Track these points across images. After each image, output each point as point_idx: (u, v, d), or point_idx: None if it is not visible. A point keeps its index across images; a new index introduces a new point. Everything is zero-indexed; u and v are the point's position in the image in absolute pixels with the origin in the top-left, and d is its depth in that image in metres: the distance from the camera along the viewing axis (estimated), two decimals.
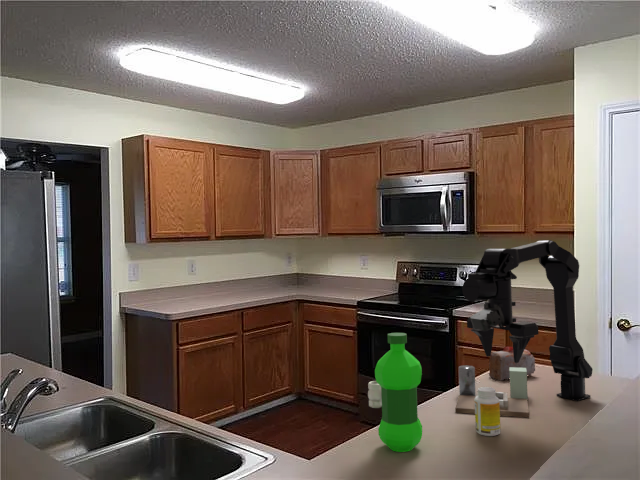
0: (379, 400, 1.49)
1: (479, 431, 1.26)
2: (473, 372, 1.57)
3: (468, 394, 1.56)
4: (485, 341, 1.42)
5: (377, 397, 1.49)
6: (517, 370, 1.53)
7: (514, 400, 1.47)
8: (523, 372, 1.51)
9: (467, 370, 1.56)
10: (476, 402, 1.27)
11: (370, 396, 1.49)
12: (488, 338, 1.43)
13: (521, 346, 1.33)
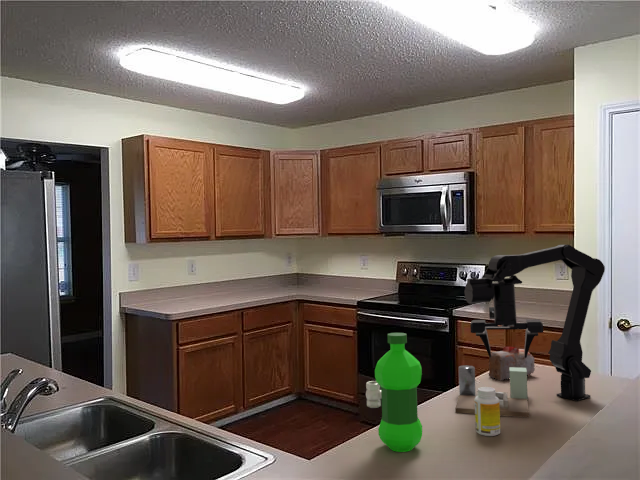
0: (377, 400, 1.49)
1: (479, 431, 1.26)
2: (473, 372, 1.57)
3: (468, 394, 1.56)
4: None
5: (375, 397, 1.49)
6: (517, 370, 1.53)
7: (514, 400, 1.47)
8: (523, 372, 1.51)
9: (467, 370, 1.56)
10: (476, 402, 1.27)
11: (368, 396, 1.50)
12: (525, 341, 1.48)
13: None
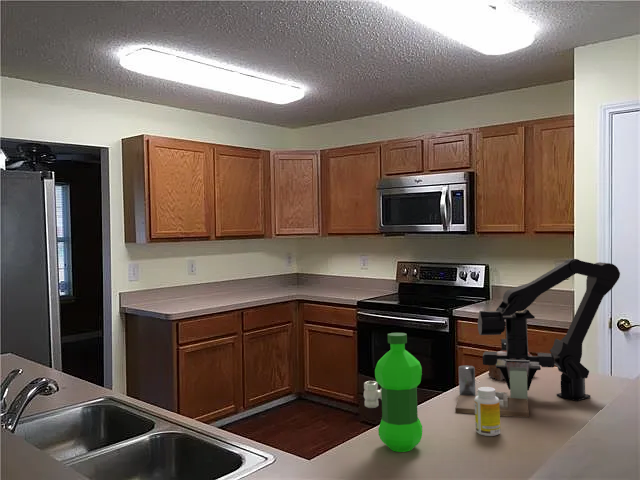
0: (375, 400, 1.50)
1: (479, 431, 1.26)
2: (473, 372, 1.57)
3: (468, 394, 1.56)
4: None
5: (373, 397, 1.49)
6: (517, 370, 1.53)
7: (514, 400, 1.47)
8: (523, 372, 1.51)
9: (467, 370, 1.56)
10: (476, 402, 1.27)
11: (366, 396, 1.50)
12: (528, 374, 1.52)
13: None
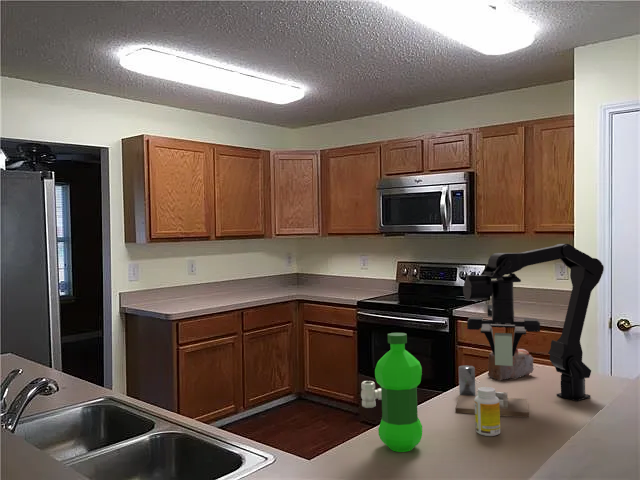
0: (372, 400, 1.50)
1: (479, 431, 1.26)
2: (473, 372, 1.57)
3: (468, 394, 1.56)
4: (513, 340, 1.50)
5: (371, 397, 1.49)
6: (502, 335, 1.49)
7: (514, 400, 1.47)
8: (508, 337, 1.47)
9: (467, 370, 1.56)
10: (476, 402, 1.27)
11: (363, 396, 1.50)
12: (513, 339, 1.49)
13: None
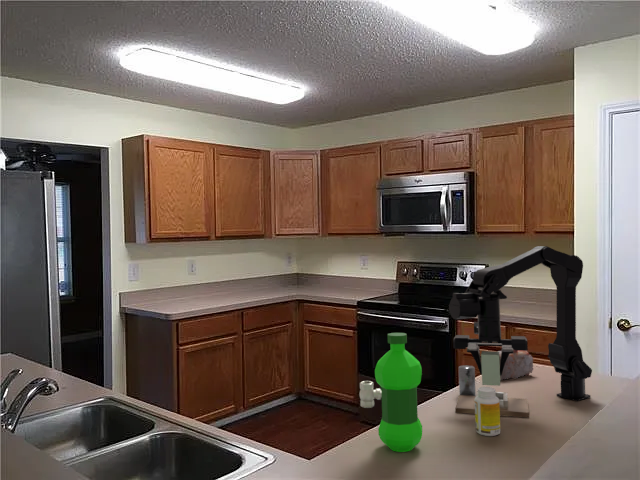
0: (371, 400, 1.50)
1: (479, 431, 1.26)
2: (473, 372, 1.57)
3: (468, 394, 1.56)
4: None
5: (369, 396, 1.49)
6: (489, 354, 1.45)
7: (514, 400, 1.47)
8: (495, 356, 1.43)
9: (467, 370, 1.56)
10: (476, 402, 1.27)
11: (362, 396, 1.50)
12: None
13: None
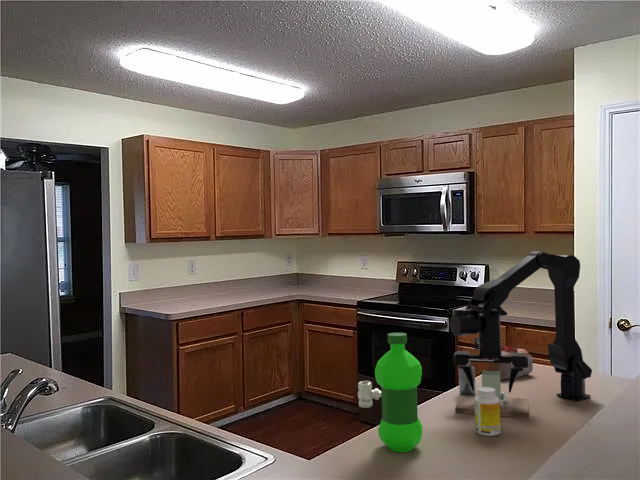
0: (369, 400, 1.50)
1: (479, 431, 1.26)
2: (473, 372, 1.57)
3: (468, 394, 1.56)
4: None
5: (367, 397, 1.49)
6: (490, 374, 1.45)
7: (514, 400, 1.47)
8: (496, 376, 1.43)
9: None
10: (476, 402, 1.27)
11: (360, 396, 1.50)
12: None
13: None
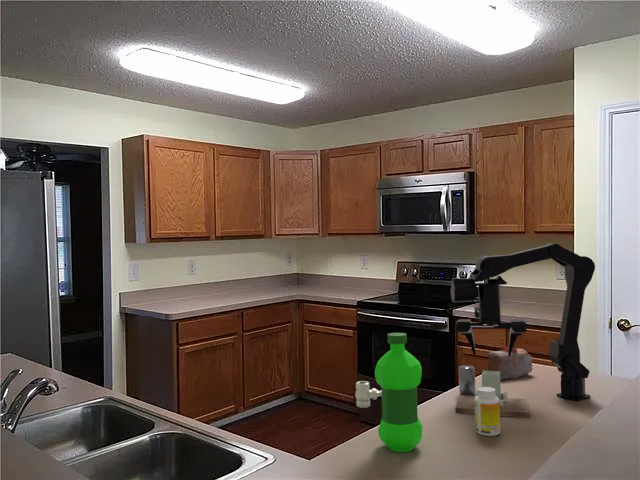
0: (367, 400, 1.50)
1: (479, 431, 1.26)
2: (473, 372, 1.57)
3: (468, 394, 1.56)
4: None
5: (365, 397, 1.49)
6: (490, 374, 1.45)
7: (514, 400, 1.47)
8: (496, 376, 1.43)
9: (467, 370, 1.56)
10: (476, 402, 1.27)
11: (358, 396, 1.50)
12: (509, 340, 1.52)
13: None
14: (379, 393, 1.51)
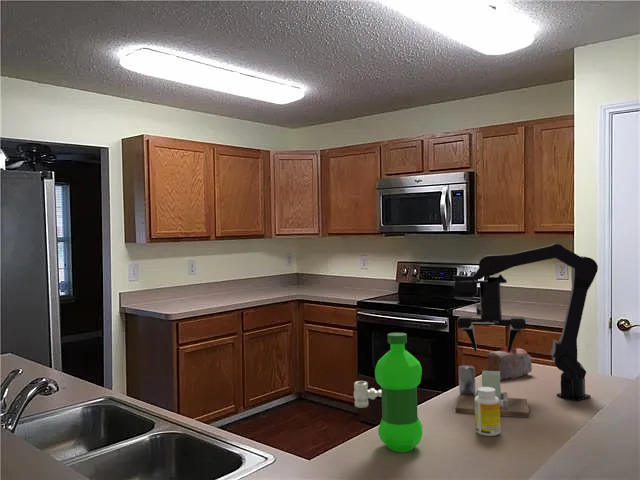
0: (365, 400, 1.50)
1: (479, 431, 1.26)
2: (473, 372, 1.57)
3: (468, 394, 1.56)
4: None
5: (364, 396, 1.49)
6: (490, 374, 1.45)
7: (514, 400, 1.47)
8: (496, 376, 1.43)
9: (467, 370, 1.56)
10: (476, 402, 1.27)
11: (356, 396, 1.50)
12: (509, 336, 1.57)
13: None
14: (377, 393, 1.51)
